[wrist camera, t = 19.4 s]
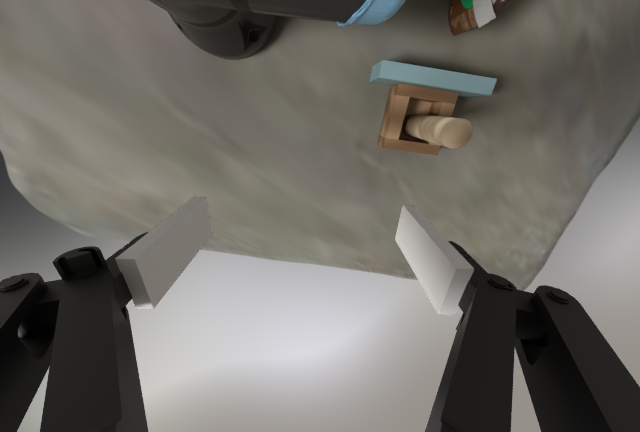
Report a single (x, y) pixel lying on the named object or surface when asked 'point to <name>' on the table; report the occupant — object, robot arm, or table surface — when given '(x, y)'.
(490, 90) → the wall
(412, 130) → the dowel
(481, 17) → the food container
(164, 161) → the table surface
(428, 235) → the robot arm
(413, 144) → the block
